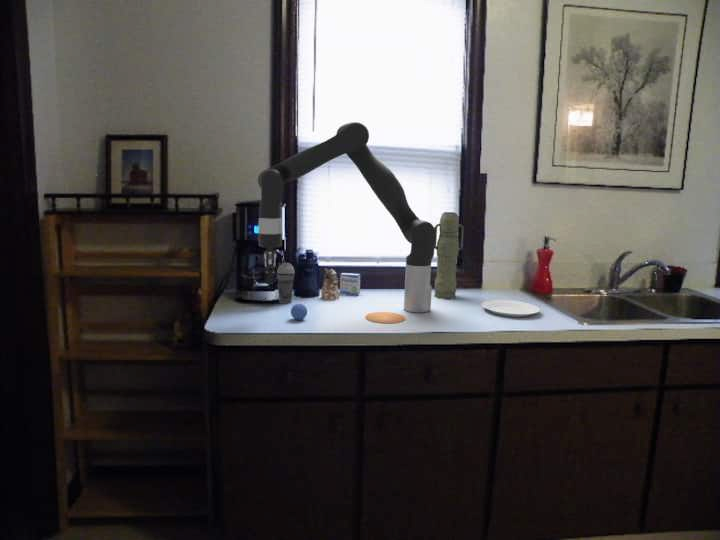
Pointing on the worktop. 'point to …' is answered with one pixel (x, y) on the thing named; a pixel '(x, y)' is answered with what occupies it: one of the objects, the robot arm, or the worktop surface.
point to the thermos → (447, 254)
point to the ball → (299, 311)
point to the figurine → (330, 286)
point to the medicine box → (349, 284)
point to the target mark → (385, 317)
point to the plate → (511, 308)
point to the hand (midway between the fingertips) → (270, 283)
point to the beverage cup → (285, 282)
